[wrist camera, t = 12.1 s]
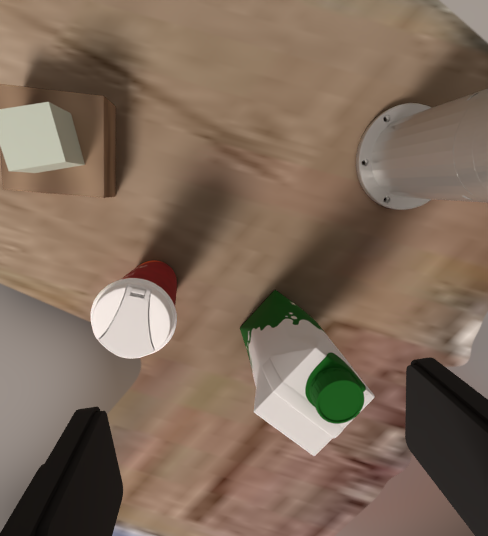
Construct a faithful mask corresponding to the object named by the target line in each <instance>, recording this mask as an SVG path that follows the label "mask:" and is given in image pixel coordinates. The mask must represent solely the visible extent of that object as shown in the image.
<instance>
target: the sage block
mask: <svg viewBox="0 0 488 536" xmlns="http://www.w3.org/2000/svg"><path fill="white" fill-rule="evenodd" d="M0 146H1V149H2V152H3V155H4V158H5V162H6V165H7V168H8V171H13V172H28V173H39V172H45V171H51V170H57V169H63V168H69V167H75V166H81V165H85V163H84V159H83V156H82V152H81V148H80V145H79V141H78V137H77V134H76V130H75V126H74V123H73V119H72V115H71V113H69V112H67V111H65V110H63V109H62V108H60V107H58V106H56V105H54V104H52V103H50V102H44V103H37V104H31V105H24V106H18V107H12V108H5V109H0Z"/></svg>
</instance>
